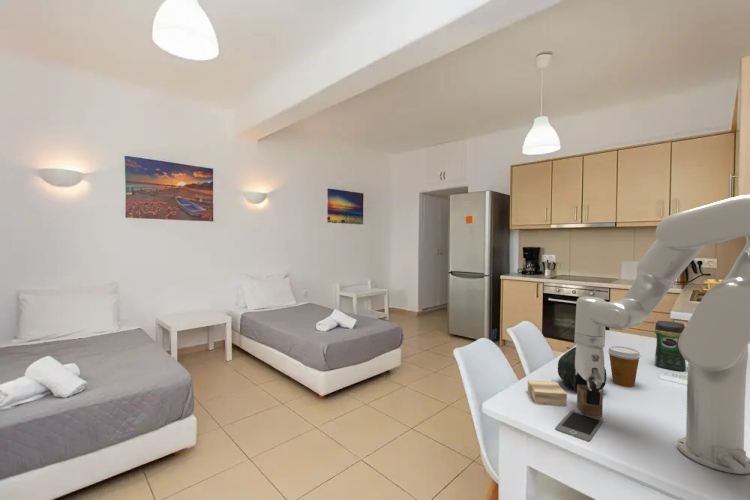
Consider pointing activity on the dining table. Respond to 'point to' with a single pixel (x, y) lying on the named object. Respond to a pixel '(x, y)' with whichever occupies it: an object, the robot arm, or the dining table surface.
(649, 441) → the dining table surface
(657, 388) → the dining table surface
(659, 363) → the coffee jar
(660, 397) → the dining table surface
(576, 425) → the smartphone
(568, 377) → the squash
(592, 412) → the walnut block
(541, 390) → the oak base block
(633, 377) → the disposable coffee cup
